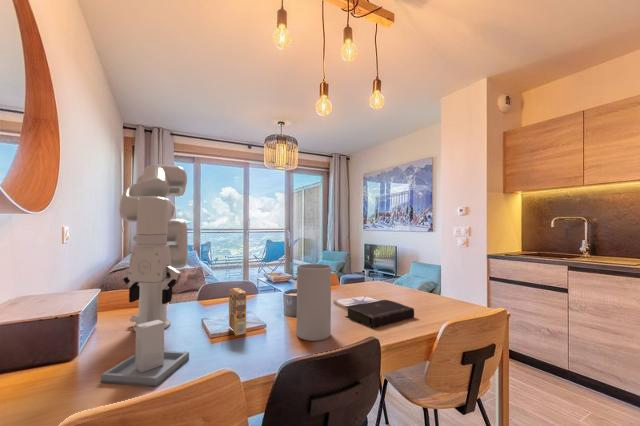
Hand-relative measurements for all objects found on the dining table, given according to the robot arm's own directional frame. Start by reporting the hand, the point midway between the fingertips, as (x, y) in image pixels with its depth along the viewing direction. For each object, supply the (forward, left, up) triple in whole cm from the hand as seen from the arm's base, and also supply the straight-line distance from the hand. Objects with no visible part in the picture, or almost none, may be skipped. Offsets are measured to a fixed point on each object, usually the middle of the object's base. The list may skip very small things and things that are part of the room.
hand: (150, 301), depth 82 cm
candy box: (+13, +31, -19) cm, 38 cm away
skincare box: (0, 0, -18) cm, 18 cm away
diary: (+68, +55, -19) cm, 90 cm away
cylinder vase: (+42, +31, -19) cm, 55 cm away
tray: (0, 0, -19) cm, 19 cm away
